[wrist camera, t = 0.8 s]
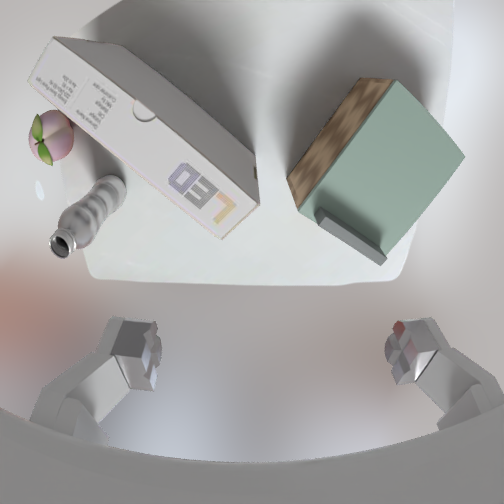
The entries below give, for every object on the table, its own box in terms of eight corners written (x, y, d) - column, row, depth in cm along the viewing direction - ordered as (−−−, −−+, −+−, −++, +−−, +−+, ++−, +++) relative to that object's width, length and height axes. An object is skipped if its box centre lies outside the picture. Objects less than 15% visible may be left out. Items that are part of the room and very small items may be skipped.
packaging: (100, 73, 37) (25, 82, 20) (122, 45, 35) (52, 35, 18) (230, 180, 49) (221, 241, 32) (256, 155, 47) (261, 204, 30)
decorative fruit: (42, 120, 40) (10, 133, 32) (72, 99, 39) (39, 107, 30) (60, 161, 45) (30, 180, 37) (90, 143, 44) (61, 159, 35)
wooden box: (360, 77, 39) (393, 79, 29) (422, 135, 44) (461, 154, 34) (286, 179, 49) (297, 208, 39) (354, 223, 54) (376, 259, 44)
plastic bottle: (133, 177, 48) (81, 233, 31) (125, 209, 51) (78, 274, 35) (102, 167, 46) (40, 217, 30) (96, 199, 50) (41, 258, 33)
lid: (394, 79, 29) (408, 81, 25) (462, 155, 33) (477, 163, 30) (297, 209, 39) (302, 222, 35) (376, 260, 43) (385, 275, 40)
